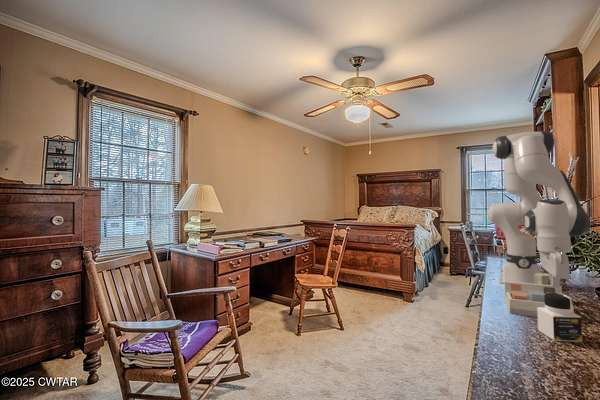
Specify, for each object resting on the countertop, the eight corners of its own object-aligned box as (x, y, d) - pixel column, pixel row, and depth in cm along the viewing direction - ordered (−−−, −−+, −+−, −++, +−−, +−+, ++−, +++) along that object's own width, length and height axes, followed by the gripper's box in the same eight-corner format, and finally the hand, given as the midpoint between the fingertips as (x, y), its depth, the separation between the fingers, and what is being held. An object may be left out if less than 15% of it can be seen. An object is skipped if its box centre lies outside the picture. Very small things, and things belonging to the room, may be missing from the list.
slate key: (529, 297, 107) (528, 290, 107) (542, 298, 105) (542, 291, 105) (531, 301, 103) (531, 294, 103) (545, 302, 101) (545, 295, 101)
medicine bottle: (554, 341, 83) (552, 298, 83) (537, 330, 90) (536, 290, 90) (583, 342, 82) (581, 298, 82) (563, 331, 89) (562, 291, 89)
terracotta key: (512, 298, 109) (512, 291, 109) (525, 299, 108) (524, 292, 108) (514, 302, 105) (514, 295, 105) (527, 303, 103) (527, 296, 103)
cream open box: (505, 301, 116) (504, 281, 117) (561, 308, 108) (560, 286, 108) (510, 313, 104) (509, 290, 104) (574, 321, 95) (573, 296, 96)
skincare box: (555, 302, 115) (554, 276, 115) (542, 301, 116) (541, 275, 116) (547, 297, 120) (546, 273, 120) (534, 297, 121) (533, 272, 121)
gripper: (575, 250, 91) (577, 295, 91) (557, 243, 109) (558, 281, 109) (549, 249, 94) (550, 293, 94) (535, 242, 112) (537, 279, 112)
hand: (555, 286), depth 101 cm, fingers closed
